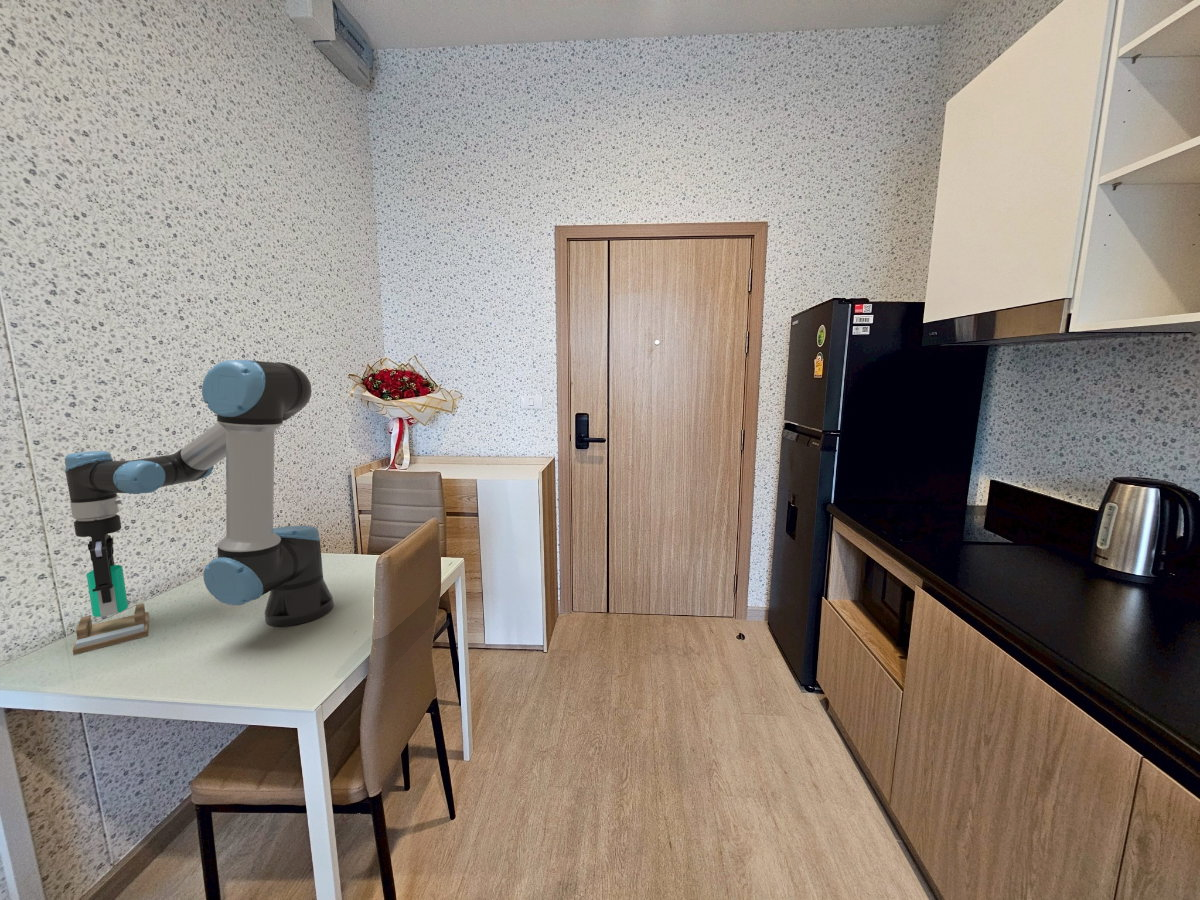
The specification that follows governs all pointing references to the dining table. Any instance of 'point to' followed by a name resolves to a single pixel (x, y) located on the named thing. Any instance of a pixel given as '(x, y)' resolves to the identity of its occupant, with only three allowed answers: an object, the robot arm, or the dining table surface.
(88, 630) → the jig
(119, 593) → the candle
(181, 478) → the robot arm
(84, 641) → the wing slat
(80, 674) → the dining table surface
